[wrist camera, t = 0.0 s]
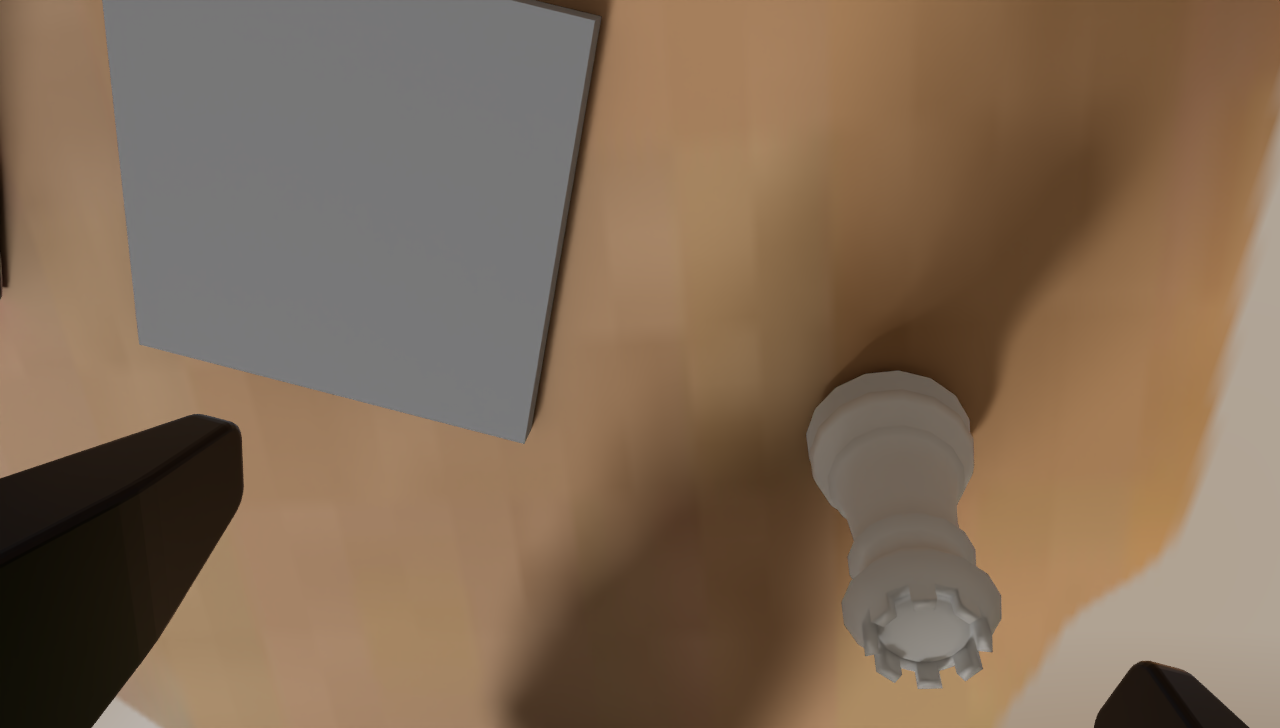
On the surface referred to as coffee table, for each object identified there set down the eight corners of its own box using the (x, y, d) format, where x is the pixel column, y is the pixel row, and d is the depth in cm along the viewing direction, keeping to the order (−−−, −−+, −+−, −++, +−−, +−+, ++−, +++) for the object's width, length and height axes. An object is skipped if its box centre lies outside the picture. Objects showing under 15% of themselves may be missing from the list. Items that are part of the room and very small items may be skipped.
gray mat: (531, 429, 26) (524, 443, 25) (156, 332, 26) (139, 344, 25) (601, 16, 20) (594, 20, 19) (115, -102, 20) (91, -102, 20)
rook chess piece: (799, 487, 25) (805, 708, 18) (812, 356, 23) (825, 549, 16) (953, 500, 25) (1020, 733, 18) (982, 367, 23) (1070, 571, 16)
